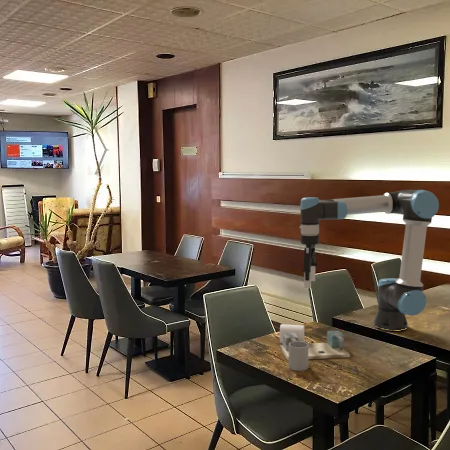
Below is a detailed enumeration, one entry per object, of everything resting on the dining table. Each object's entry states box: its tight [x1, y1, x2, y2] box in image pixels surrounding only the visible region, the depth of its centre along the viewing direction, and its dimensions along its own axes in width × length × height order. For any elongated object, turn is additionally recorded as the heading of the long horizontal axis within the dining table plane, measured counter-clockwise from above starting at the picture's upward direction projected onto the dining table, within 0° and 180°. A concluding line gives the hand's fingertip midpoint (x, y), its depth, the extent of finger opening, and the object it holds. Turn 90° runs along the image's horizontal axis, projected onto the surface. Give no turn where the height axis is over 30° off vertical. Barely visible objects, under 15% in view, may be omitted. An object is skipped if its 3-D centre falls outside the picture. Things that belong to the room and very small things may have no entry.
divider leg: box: [326, 330, 345, 350], centre depth 199 cm, size 5×10×5 cm, turn 6°
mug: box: [279, 323, 305, 344], centre depth 209 cm, size 12×10×8 cm
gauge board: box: [279, 333, 351, 361], centre depth 197 cm, size 25×14×6 cm, turn 96°
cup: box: [288, 341, 309, 372], centre depth 182 cm, size 7×10×9 cm
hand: (309, 284), depth 206 cm, fingers open, 13 cm apart
